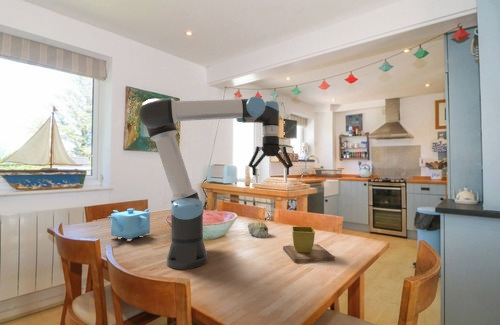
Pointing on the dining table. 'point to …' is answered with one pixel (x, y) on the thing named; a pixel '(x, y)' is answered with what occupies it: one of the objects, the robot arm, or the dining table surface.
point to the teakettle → (130, 223)
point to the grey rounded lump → (258, 229)
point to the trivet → (309, 254)
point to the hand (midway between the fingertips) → (270, 182)
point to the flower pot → (303, 238)
